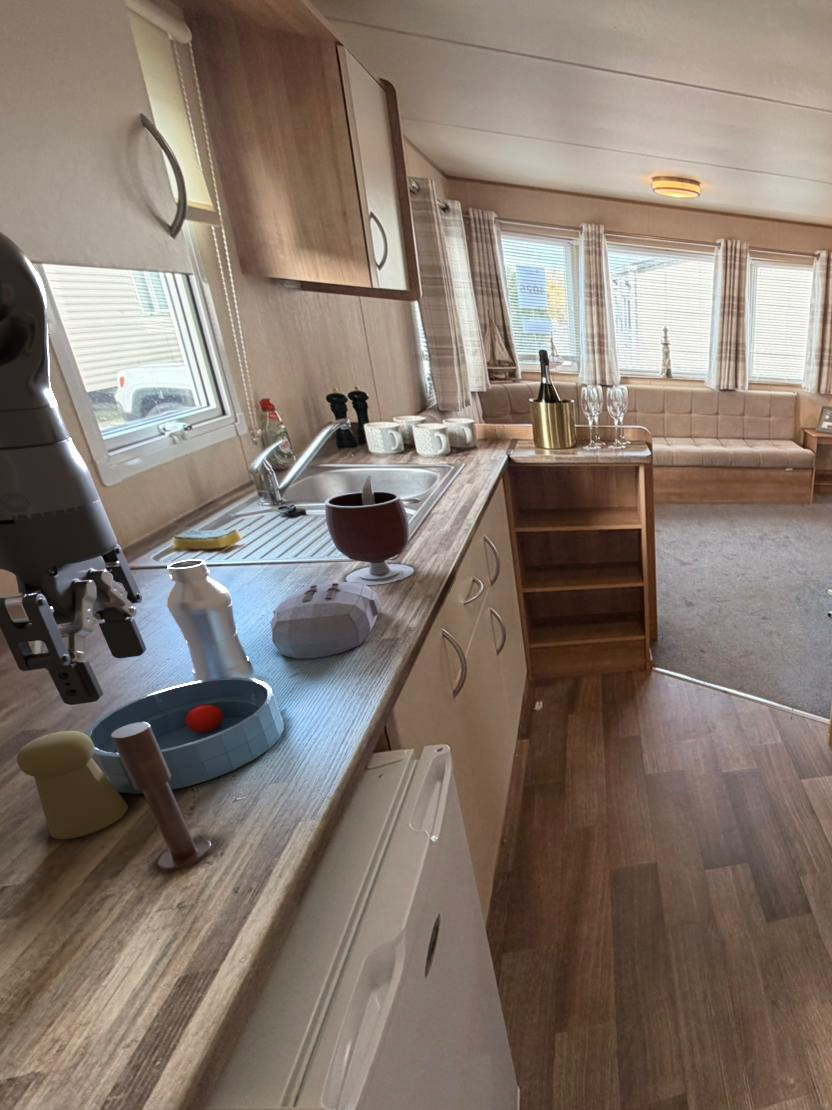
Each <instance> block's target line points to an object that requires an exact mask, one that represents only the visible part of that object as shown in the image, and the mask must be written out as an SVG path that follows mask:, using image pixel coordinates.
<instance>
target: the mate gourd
mask: <svg viewBox="0 0 832 1110" xmlns="http://www.w3.org/2000/svg"><path fill="white" fill-rule="evenodd" d="M372 483H373V482H372V476H371V475H366V478H365V480H364V482H363V485H362V491H355V492H348V493H343V494H338V495H334V496H331V497H328V498H327V499H325V500H324V504H325V508H324V514H325V521H326V525H327V529H328V533H329V536H330V538H331V540H332V542H333V545H334V546H335V548H336V550H337V551H339V552H340V553H341V554H342V555H344V556H345V557H347V558H348V560H349V559H350V560H351V561H358V562H362V563H363V562H364V563H370V564H369V566H367V567H364V568H360V569H357V570H355V571H353V572H351V573H349V574H348V575H347V576H346V578H345V582H359V583H364V584H365V585H367V586H377V585H378V586H379V585H385V584H390V583H395V582H398V581H402V580H404V579H407V578H408V577H410V576H411V575H413V573H414V572H415V570H414V567H412V566H410V565H405V564H398V563H397V564H396V563H393V564H392V563H391V564H388V563H387V562H386V561H387V560H389V559H392V558H394V557H396V556H398V555H400V554H401V553H403V551H404V550H405V548H406V547H407V544H408V543H409V540H410V539H409V537H410V523H409V519H408V514H407V511H406V508H405V505H404V502H403V500H402V499H401V495H400V494H399V493H397V492H393V491H386V490H385V491H384V490H374V486H373V484H372Z"/></svg>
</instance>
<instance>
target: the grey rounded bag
mask: <svg viewBox="0 0 832 1110" xmlns="http://www.w3.org/2000/svg"><path fill="white" fill-rule="evenodd" d="M377 593H378V592H377V591H374V590H373V589H372V588H370V587H369V585H365V584H364V583H359V582H347V581H333V582H325V583H318V584H313V585H309V586H306V587H303V588H300V589H299V590H297V591H296V592H294V593H292V594H291V595H290V596H289V597H287V598H286V599H285V600H284V601H281V602H280V603H279V604H278V605H277V606H276V608H275V609H274V610H273V611H272V612H273V616H272V618H271V620H270V622H269V623H270V626H271V633H272V635H271V636H272V640H271V642H272V643H273V645H274V646H275V647H276V649H277V650H278V651H279V653H280V654H281V656H285V657H289V658H293V659H299V660H300V659H316V658H318V659H319V658H323V657H328V656H333V655H337V654H342V653H344V652H347V651H349V650H351V649H354V648H356V647H359V646H361V644H362V643H363V642H364V640H365V639H366V637H367V636H368V635H369V634H370V633H371V631H372V629H373V627H374V625H375V623H376V621H377V616H378V615H379V614H380V611H381V602H380V599H379V597H378V594H377Z"/></svg>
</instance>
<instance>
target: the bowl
mask: <svg viewBox="0 0 832 1110" xmlns="http://www.w3.org/2000/svg"><path fill="white" fill-rule="evenodd" d="M202 705H212V706H215V707H217V708H219V709H220V710H221V711H222V713H223V722H222V724H221V725H220V726H219V727H218V728H217V729H215V730H213V731H211V732H207V733H197V732H194V731H192V730H190V729H189V728H188V726H187V725H186V717H187V715H188V713H189V712H190V711H191V710H192V709H194V708H196V707H198V706H202ZM139 722H145V723H149V724H150V726H151V728H152V731H153V733H154V735H155V738H156V740H157V743H158V745H159V747H160V750H161V752H162V754H163V757H164V759H165V761H166V764H167V766H168V768H169V771H170V773H171V778H170V780H169V781H168V783H169V786H170V788H171V790H172V791H173V790H177V789H178V790H179V789H183V788H187V787H190V786H194V785H197V784H201V783H204V782H207V781H210V780H212V779H215V778H218V777H220V776H222V775H225V774H228V773H230V772H233V771H234V770H237V769H238V768H241V767H243V766H244V765H246V764H249V763H250V762H252V761H254V760H256V759H257V758H258V757H260V756H261V755H262V754H264V753H266V752H268V750H270V749H271V748H272V747H273V745H275V743H276V742H278V741H279V740H280V738H281V736H282V734H283V732H284V730H285V725H284V720H283V717H282V714H281V711H280V708H279V704H278V701H277V699H276V695H275V693H274V689H273V687H271V686H270V685H269V684H268V683H267V682H265V681H262V680H258V679H250V678H239V677H236V678H217V679H210V680H203V681H196V682H194V681H191V682H188V683H183V684H178V685H174V686H171V687H168V688H165V689H161V690H158V691H155V692H151V693H149V694H146V695H144V696H141V697H139V698H136V699H134V700H133V699H132V700H131V701H129V702H126V703H124V704H122V705H121V706H119V707H117V708H115V709H112V710H110V711H109V712H108V713H106V714H105V715H103V716H101V717H100V718H99V719H97V720H95V722H93V723H92V725H90V727H88V729H87V730H86V731H85V732H84V734H86V735H87V736H88V737H89V738H90V739H91V740H92V742H93V744H94V750H95V751H94V754H93V756H92V759H93V760H94V761H95V763H96V764H97V765H98V767H99V768H100V769H101V771H102V772H103V773H104V775H105V776H106V777H107V779H108V780H109V781H110V782H111V784H112V785H113V786H114V788H115V789H116V790H117V792H118V793H124V794H130V795H131V794H132V795H138V794H139V795H141V794H144V793H143V791H142V790H136V789H135V788H134V786H133V784H132V782H131V779H130V777H129V775H128V773H127V771H126V769H125V766H124V764H123V762H122V760H121V758H120V755H119V753H118V751H117V749H116V747H115V745H114V742H113V740H112V738H111V734H112V733H113V732H114V731H115V730H117V729H119V728H121V727H123V726H126V725H129V724H133V723H139Z"/></svg>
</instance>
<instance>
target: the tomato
mask: <svg viewBox="0 0 832 1110" xmlns="http://www.w3.org/2000/svg"><path fill="white" fill-rule="evenodd" d="M222 722H223V713H222V711H221V710H220V709H219V708H217V707H215V706H212V705H202V706H198V707H196V708H194V709H192V710H191V711H190V712H189V713H188V715H187V717H186V725H187V726H188V728H189V729H190V730H192V731H194V732H197V733H207V732H211V731H213V730H215V729H217V728H218V727H219V726H220V725H221V724H222Z"/></svg>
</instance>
